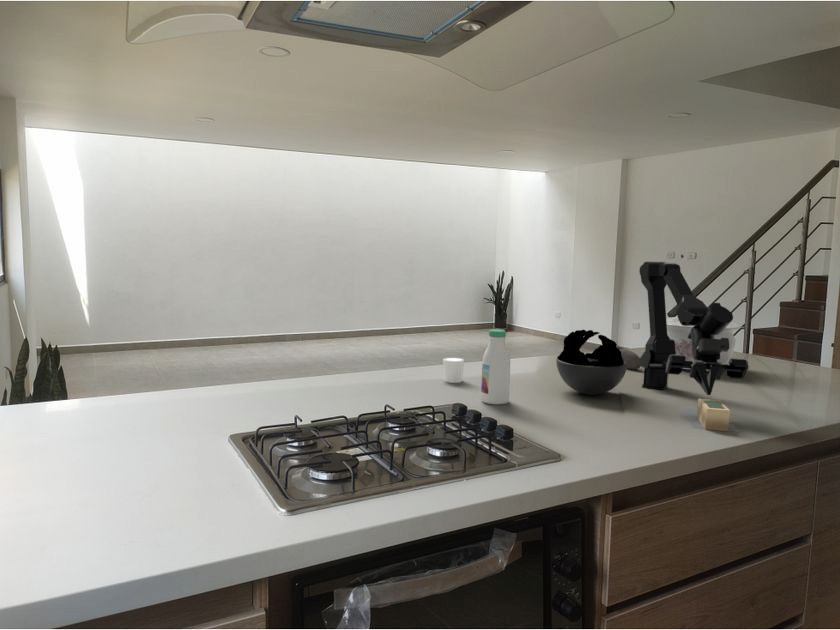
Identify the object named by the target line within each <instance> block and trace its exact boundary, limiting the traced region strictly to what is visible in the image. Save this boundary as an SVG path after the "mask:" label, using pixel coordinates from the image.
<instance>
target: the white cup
mask: <svg viewBox="0 0 840 630" xmlns="http://www.w3.org/2000/svg"><path fill="white" fill-rule="evenodd" d="M442 364H443V378H444V379H443V380H444V382H445V383H449V384H450V383H451V384H452V383H453V384H454V383H455V384H459V383H462V382H463V377H464V369H465V358H462V357H461V358H460V357H445V358H443V359H442Z"/></svg>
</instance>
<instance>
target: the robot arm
mask: <svg viewBox="0 0 840 630" xmlns="http://www.w3.org/2000/svg"><path fill="white" fill-rule="evenodd" d="M639 275H640V279H641V280H640V281H641V284H642V285H643V287H644V288H645V289H646V291H647V302H648V303H647V305H648V319H649V333H650V334H649V338H648V340H647V342H646V343H645V347H644V348H645V351H644V352H643V353H642V354H641V356H639V358H640V359H639V364H640V366H641V367H640V368H643V383H642V385H641V387H642V388H649V389H655V390H666V388H667V387H668V385H669V377H670V375H680V374H682V372H683V370H684V369H690V370H691V371H690V373H689V378H691V379H694V380H695V381H696V382H697V383H698V384H699V386H700V387H701V389H702V390H703V391H704V394H706V395H707V396H711V395H712V392H713V388H714V386H715V385H714V384H715V382H716V380H717V381H718V380H721V377H722V375H723V372H725V374H726V375H725V376H726V377H728V378H729V379H735V380H742V379H744V378H745V377H746V374H747V371H748V369H749V367H750V366H749V363H748V361H747V360H746V359H745V358H737V357H736V358H735V357H734V358H732V357H731V358H730V360H729V361H728V362H727V363H720V362H718V360H719V359H720V353H721V352H722V351H725V352H727V351H728V350H729V339H728V338H721V339H715V337H714V335H718V334H720V333H721V332H722V331H723V330H724V329H725V328H726V327H727V325H728V324H729V323H730V322H733V319H734V314H733V312H731V311H730V310H729V309H728V308H726V307H724V306H722V305H721V303H720V302H712V303H711V304H710V305H709V307H708V306H707V305H706V304H705V303H704V302H703V301H702V300H701V299H699V298H697V297H696V296H695V295H694V294H693V291H692V290H691V288H690V286H689V284H688V283H687V282H688V281H686V279H685V276H684V275H683V273H682V271H681V266H680V265H679V264H678V263H676V262H675V263H673V262H672V263H669V262H666V261H645V262H643V264H642V265H640V266H639ZM666 287H668V290H669V292H670V293H671V294H672V296H673V298H674V300H675V303H676V305H677V307H676V311H675V312H676V315H677V316H676V317H678V319H679V321H680V323H681V324H682V325H684V326H694V327H693V328H692V329H691V332H690V334H689V335H688V338H689V339H691V340H692V351H693V352H692V356H693V360H692V361H685V360H686V357H685V355H676V350H675V341H674V340H671V339H670V338H669V336H668V334H667V321H666V318H667V309H666V307H667V306H666V293H665V288H666ZM682 368H683V369H682ZM706 370H709V372H708V375H707V372H706Z"/></svg>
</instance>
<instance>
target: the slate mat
mask: <svg viewBox="0 0 840 630" xmlns="http://www.w3.org/2000/svg"><path fill="white" fill-rule="evenodd" d="M697 410H698V409H696V410H695V409H686V408H681V411H682V412H683V414H684V416H685V418H686V419H687V420H688V422H689V423H690V425H691V426H692V428H693V429H703V430H706V429H705V428H704V427H703V426H702V424H701V423H700V421H699V420H698V418H697ZM727 432H735V433H737V432H738V433H740V431H739V430H738V428H736V426H735V425H734V424H733V423H732V422H731V420H729V428H728V431H727Z"/></svg>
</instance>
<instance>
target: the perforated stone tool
mask: <svg viewBox="0 0 840 630" xmlns="http://www.w3.org/2000/svg"><path fill="white" fill-rule="evenodd" d="M616 347H617V348H619V350H620V351H621V355H622V358H623V361H625V362H627V369H626V370H633V371H634V370H635V371H636V370H639V369H640V368H642V367H641V366H640V364H639V359H640V356H639V355H638V354H637V353H635V352H633V351H631V350H630V349H627V348H623V347H621V346H620V347H618V346H616Z"/></svg>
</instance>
